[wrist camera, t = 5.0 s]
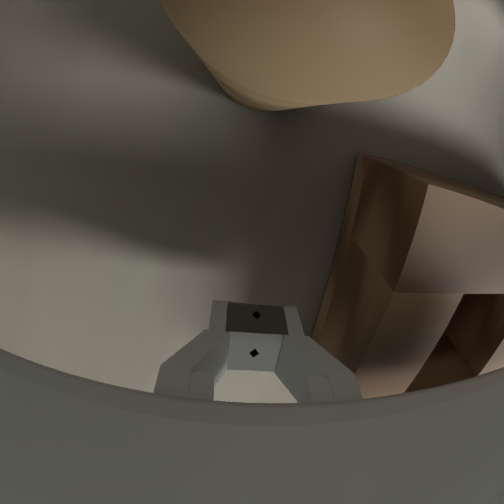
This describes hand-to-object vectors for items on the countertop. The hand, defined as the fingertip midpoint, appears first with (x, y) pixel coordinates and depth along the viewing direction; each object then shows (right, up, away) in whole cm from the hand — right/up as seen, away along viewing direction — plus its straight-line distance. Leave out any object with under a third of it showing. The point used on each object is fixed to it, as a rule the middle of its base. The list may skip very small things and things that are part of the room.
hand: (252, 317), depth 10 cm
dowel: (+1, +9, -1) cm, 10 cm away
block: (+10, +1, +3) cm, 10 cm away
